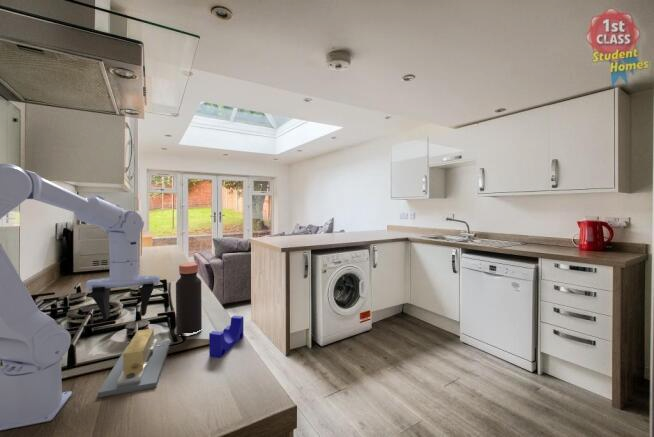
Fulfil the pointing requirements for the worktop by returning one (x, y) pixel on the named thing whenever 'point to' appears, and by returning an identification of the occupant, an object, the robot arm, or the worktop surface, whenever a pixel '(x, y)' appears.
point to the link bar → (138, 350)
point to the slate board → (149, 378)
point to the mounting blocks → (134, 373)
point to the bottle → (188, 300)
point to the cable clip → (225, 337)
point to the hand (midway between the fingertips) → (125, 316)
